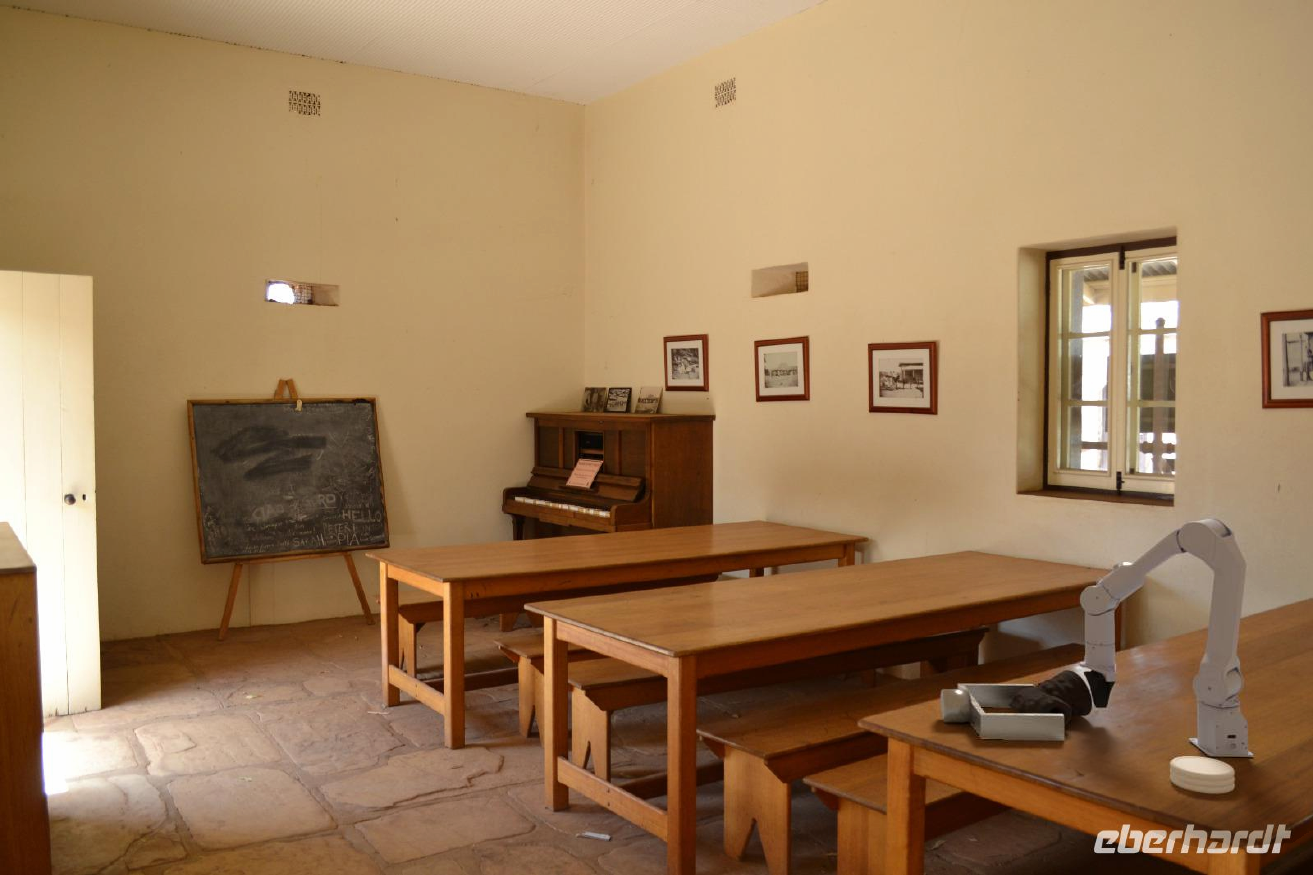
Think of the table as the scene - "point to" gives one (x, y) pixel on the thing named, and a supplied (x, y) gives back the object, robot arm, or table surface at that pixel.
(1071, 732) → the table surface
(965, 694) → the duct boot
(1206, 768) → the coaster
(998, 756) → the table surface
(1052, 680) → the pipe
